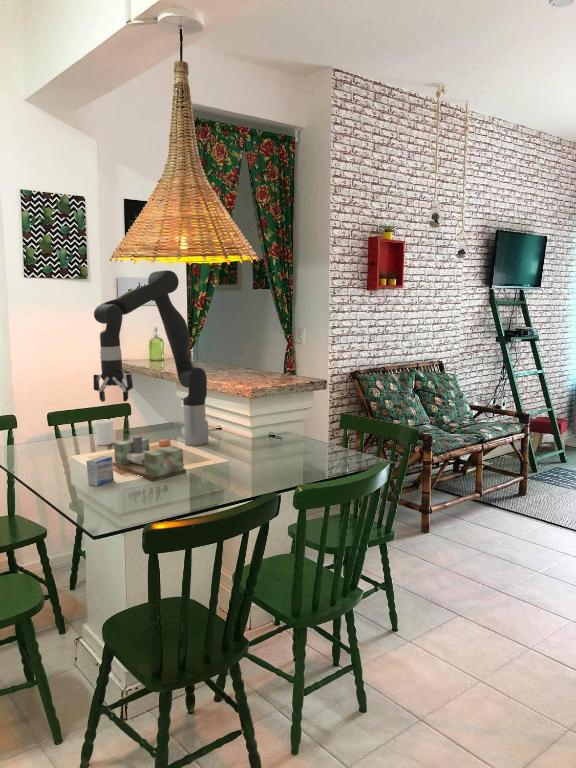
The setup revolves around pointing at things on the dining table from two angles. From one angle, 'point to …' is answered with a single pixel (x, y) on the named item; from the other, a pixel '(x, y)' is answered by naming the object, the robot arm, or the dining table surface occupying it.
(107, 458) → the medicine box
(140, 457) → the carriage
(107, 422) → the white cup
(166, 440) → the button
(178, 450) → the rail stand
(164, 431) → the dining table surface
